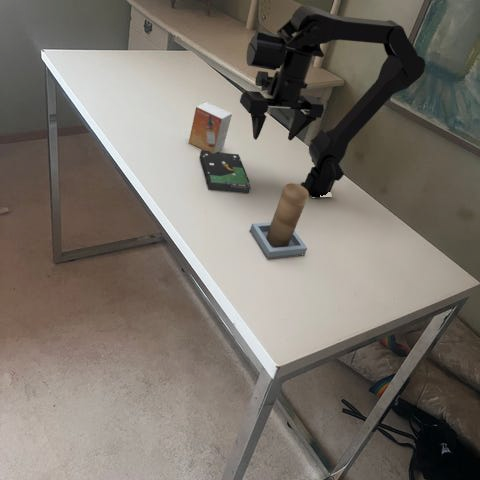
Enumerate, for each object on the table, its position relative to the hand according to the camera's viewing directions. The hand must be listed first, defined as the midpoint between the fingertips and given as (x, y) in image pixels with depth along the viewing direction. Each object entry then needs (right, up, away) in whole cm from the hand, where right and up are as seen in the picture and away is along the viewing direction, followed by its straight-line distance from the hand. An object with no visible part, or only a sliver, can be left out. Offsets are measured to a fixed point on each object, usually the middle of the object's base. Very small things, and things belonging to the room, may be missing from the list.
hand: (272, 139), depth 106 cm
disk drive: (-12, -8, +9) cm, 16 cm away
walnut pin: (0, -23, -8) cm, 25 cm away
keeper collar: (0, -24, -8) cm, 25 cm away
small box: (-17, +2, +18) cm, 24 cm away
